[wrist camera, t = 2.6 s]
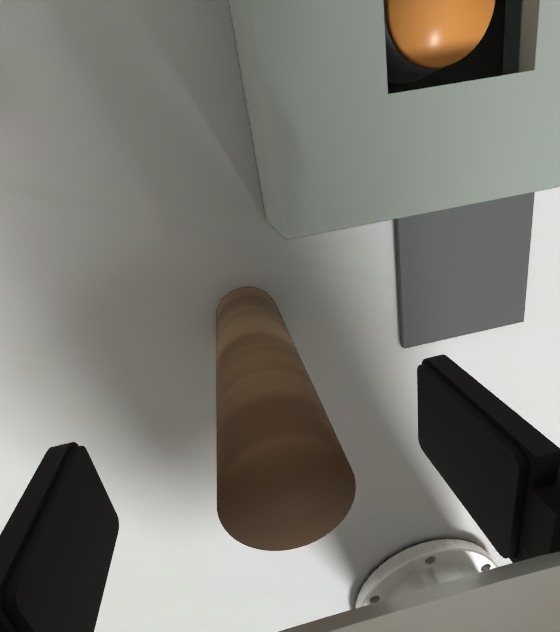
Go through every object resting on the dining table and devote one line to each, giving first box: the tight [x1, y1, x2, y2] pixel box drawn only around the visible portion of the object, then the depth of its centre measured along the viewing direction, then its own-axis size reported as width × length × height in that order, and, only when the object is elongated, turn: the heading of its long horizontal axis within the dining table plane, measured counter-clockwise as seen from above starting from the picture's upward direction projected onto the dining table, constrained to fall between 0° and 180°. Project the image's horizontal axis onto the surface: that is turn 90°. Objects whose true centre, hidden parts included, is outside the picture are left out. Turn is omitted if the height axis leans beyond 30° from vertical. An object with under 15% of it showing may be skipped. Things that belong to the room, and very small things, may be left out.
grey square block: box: [229, 0, 560, 240], centre depth 15 cm, size 14×14×6 cm
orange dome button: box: [383, 0, 495, 84], centre depth 15 cm, size 4×4×3 cm
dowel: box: [216, 287, 356, 551], centre depth 15 cm, size 4×4×13 cm
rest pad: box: [395, 192, 534, 348], centre depth 22 cm, size 8×8×1 cm
